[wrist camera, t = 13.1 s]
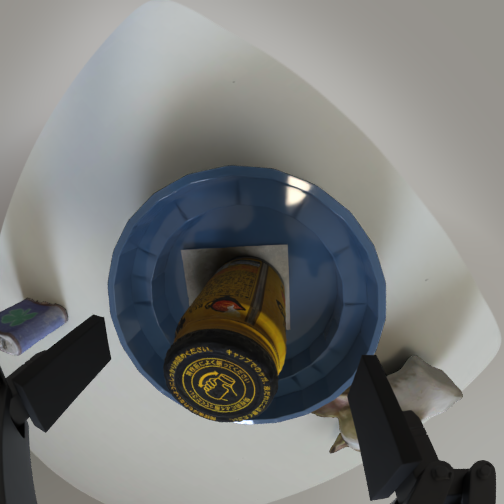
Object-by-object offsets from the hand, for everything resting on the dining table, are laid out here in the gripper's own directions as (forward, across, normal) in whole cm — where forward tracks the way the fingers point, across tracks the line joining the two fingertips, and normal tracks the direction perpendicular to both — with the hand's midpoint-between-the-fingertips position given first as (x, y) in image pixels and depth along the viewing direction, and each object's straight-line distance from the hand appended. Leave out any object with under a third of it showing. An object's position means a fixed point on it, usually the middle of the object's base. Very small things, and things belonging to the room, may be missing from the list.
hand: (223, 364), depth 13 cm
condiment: (+10, -1, 0) cm, 11 cm away
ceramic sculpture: (+11, +14, -10) cm, 21 cm away
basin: (+11, 0, 0) cm, 11 cm away
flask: (+11, -25, -7) cm, 28 cm away
